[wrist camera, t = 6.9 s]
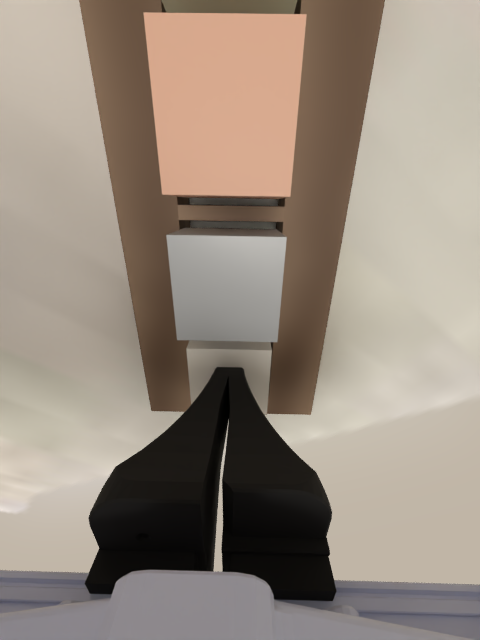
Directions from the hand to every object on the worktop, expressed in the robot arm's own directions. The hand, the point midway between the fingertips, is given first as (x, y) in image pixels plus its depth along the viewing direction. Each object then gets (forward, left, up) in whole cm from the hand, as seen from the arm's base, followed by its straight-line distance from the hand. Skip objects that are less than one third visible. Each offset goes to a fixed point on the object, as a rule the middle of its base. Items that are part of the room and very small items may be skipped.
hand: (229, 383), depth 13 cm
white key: (0, 0, -3) cm, 3 cm away
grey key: (0, +5, -2) cm, 5 cm away
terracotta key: (0, +10, -2) cm, 11 cm away
